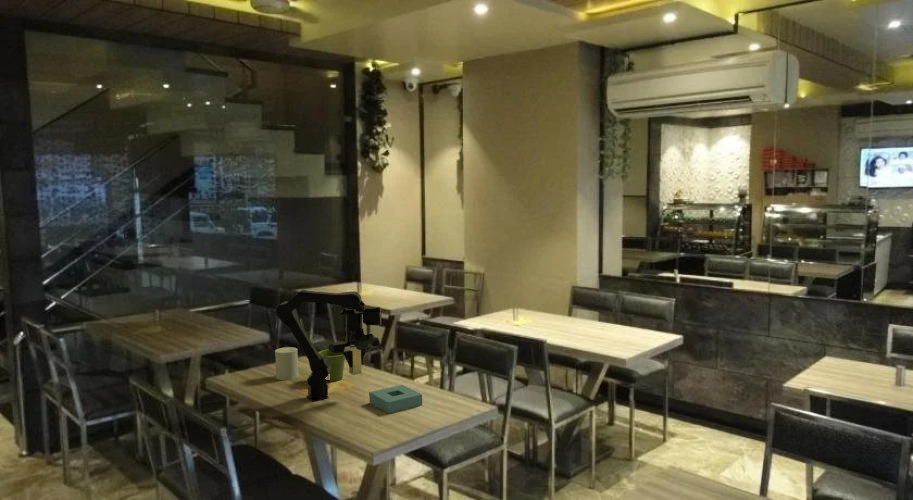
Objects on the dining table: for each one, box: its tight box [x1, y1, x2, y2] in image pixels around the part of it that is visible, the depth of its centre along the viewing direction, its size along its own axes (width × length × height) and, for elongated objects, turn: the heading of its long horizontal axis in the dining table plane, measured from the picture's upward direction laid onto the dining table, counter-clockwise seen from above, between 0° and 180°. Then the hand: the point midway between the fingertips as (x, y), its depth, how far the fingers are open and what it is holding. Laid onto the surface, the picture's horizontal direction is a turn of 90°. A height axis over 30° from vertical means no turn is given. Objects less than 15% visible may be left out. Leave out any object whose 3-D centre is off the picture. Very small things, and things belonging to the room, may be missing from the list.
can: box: [274, 346, 300, 381], centre depth 271 cm, size 9×9×12 cm
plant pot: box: [318, 348, 346, 382], centre depth 267 cm, size 12×12×11 cm
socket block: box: [368, 384, 423, 414], centre depth 237 cm, size 14×14×4 cm
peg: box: [348, 347, 362, 376], centre depth 244 cm, size 3×3×9 cm
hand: (355, 366), depth 244 cm, fingers closed on peg, 3 cm apart
